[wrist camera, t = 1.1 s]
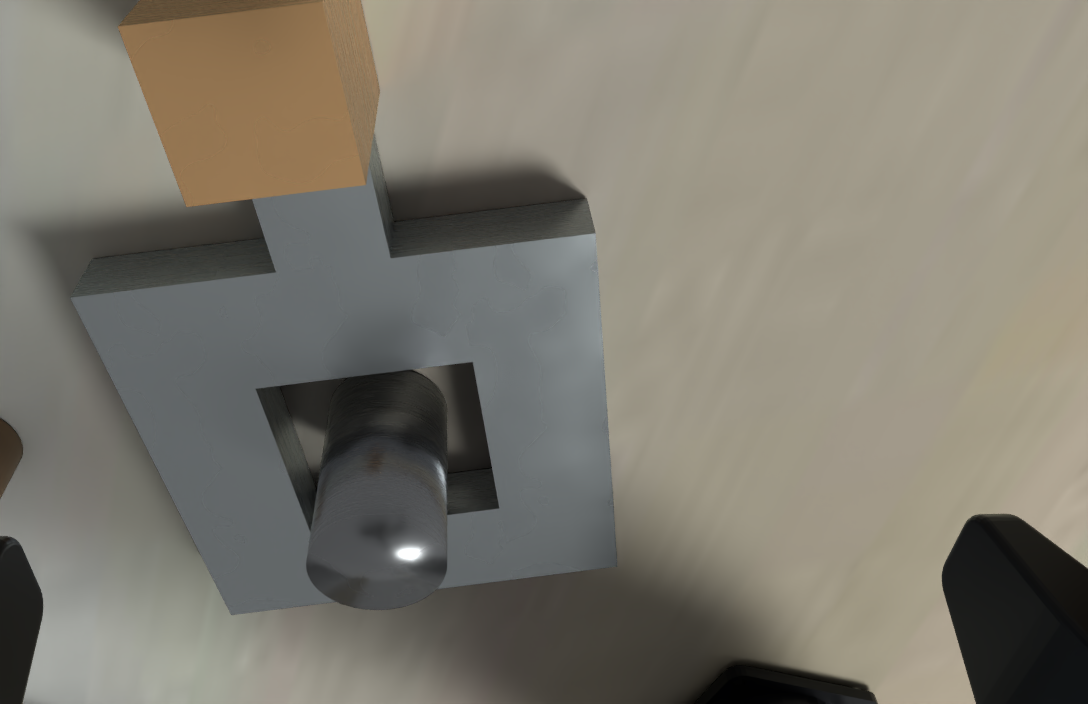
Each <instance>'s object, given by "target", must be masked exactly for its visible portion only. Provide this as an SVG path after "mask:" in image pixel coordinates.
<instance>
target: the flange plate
mask: <svg viewBox="0 0 1088 704" xmlns="http://www.w3.org/2000/svg"><path fill="white" fill-rule="evenodd" d="M118 29H119V31H120V34H121V37H122V39H123V42H124V44H125V47H126V50H127V52H128V55H129V58H130V60H131V63H132V65H133V68H134V71H135V73H136V76H137V79H138V81H139V84H140V86H141V89H142V92H143V94H144V97H145V99H146V102H147V105H148V107H149V110H150V113H151V115H152V118H153V120H154V123H155V126H156V128H157V131H158V134H159V136H160V139H161V141H162V144H163V147H164V149H165V152H166V154H167V157H168V160H169V162H170V165H171V168H172V170H173V173H174V175H175V178H176V181H177V183H178V186H179V189H180V191H181V194H182V196H183V199H184V202H185V204H186V207H191V206H199V205H207V204H215V203H224V202H232V201H240V200H248V199H252V201H253V204H254V207H255V210H256V213H257V216H258V219H259V222H260V225H261V228H262V231H263V234H264V237H265V238H260V239H252V240H244V241H235V242H227V243H219V244H211V245H203V246H195V247H186V248H178V249H170V250H162V251H154V252H146V253H137V254H129V255H121V256H113V257H105V258H97V259H92V260H91V262H90V264H89V266H88V267H87V269H86V271H85V273H84V274H83V276H82V278H81V280H80V281H79V283H78V285H77V287H76V288H75V290H74V292H73V294H72V295H71V297H70V298H71V300H72V302H73V304H74V306H75V308H76V310H77V312H78V314H79V316H80V318H81V320H82V322H83V324H84V326H85V328H86V330H87V332H88V334H89V336H90V338H91V340H92V342H93V344H94V346H95V348H96V350H97V352H98V354H99V356H100V357H101V359H102V361H103V363H104V365H105V367H106V369H107V371H108V373H109V375H110V377H111V379H112V381H113V383H114V385H115V387H116V389H117V391H118V393H119V395H120V397H121V399H122V401H123V403H124V405H125V407H126V409H127V411H128V413H129V415H130V417H131V419H132V420H133V422H134V424H135V426H136V428H137V430H138V432H139V434H140V436H141V438H142V440H143V442H144V444H145V446H146V448H147V450H148V452H149V454H150V456H151V458H152V460H153V462H154V464H155V466H156V468H157V470H158V472H159V474H160V476H161V478H162V480H163V482H164V483H165V485H166V487H167V489H168V491H169V493H170V495H171V497H172V499H173V501H174V503H175V505H176V507H177V509H178V511H179V513H180V515H181V517H182V519H183V521H184V523H185V525H186V527H187V529H188V531H189V533H190V535H191V537H192V539H193V541H194V543H195V545H196V546H197V548H198V550H199V552H200V554H201V556H202V558H203V560H204V562H205V564H206V566H207V568H208V570H209V572H210V574H211V576H212V578H213V580H214V582H215V584H216V586H217V588H218V590H219V592H220V594H221V596H222V598H223V600H224V602H225V604H226V606H227V608H228V609H229V611H230V613H231V615H235V614H243V613H251V612H259V611H267V610H275V609H283V608H291V607H299V606H307V605H315V604H323V603H331V602H336V601H334V600H332V599H330V598H329V597H327V596H325V595H324V594H323V593H321V592H320V591H319V590H318V589H317V588H316V587H315V586H314V585H313V583H312V582H311V580H310V578H309V576H308V573H307V570H306V560H307V553H308V546H309V540H310V533H311V527H312V520H313V514H314V507H315V500H316V494H317V490H316V487H315V484H314V481H313V479H312V476H311V473H310V470H309V467H308V465H307V462H306V459H305V456H304V454H303V451H302V448H301V445H300V442H299V440H298V437H297V434H296V431H295V429H294V426H293V423H292V420H291V417H290V415H289V412H288V409H287V406H286V404H285V401H284V398H283V395H282V392H281V390H280V387H279V386H282V385H290V384H298V383H306V382H314V381H322V380H330V379H338V378H346V377H354V376H362V375H370V374H379V373H387V372H395V371H403V370H411V369H419V368H427V367H435V366H443V365H451V364H459V363H467V362H473V366H474V371H475V377H476V382H477V388H478V393H479V399H480V404H481V410H482V415H483V421H484V426H485V432H486V437H487V443H488V448H489V454H490V459H491V465H492V468H491V469H483V470H475V471H467V472H459V473H451V474H447V572H446V575H445V578H444V580H443V582H442V583H441V584H440V586H439V587H438V588H437V589H442V588H450V587H458V586H466V585H474V584H482V583H490V582H498V581H506V580H514V579H522V578H530V577H538V576H546V575H553V574H561V573H569V572H577V571H585V570H593V569H601V568H609V567H617V553H616V537H615V522H614V507H613V492H612V477H611V461H610V446H609V431H608V416H607V401H606V385H605V370H604V355H603V340H602V325H601V309H600V294H599V279H598V264H597V249H596V233H595V229H594V225H593V221H592V217H591V213H590V209H589V205H588V201H587V198H586V199H578V200H570V201H562V202H554V203H545V204H537V205H529V206H521V207H513V208H505V209H496V210H488V211H480V212H472V213H464V214H456V215H448V216H439V217H431V218H423V219H415V220H407V221H399V222H394V220H393V215H392V211H391V206H390V202H389V197H388V193H387V188H386V184H385V179H384V175H383V171H382V166H381V162H380V157H379V153H378V148H377V144H376V139H375V135H374V127H375V121H376V114H377V107H378V100H379V94H380V89H379V84H378V79H377V75H376V70H375V65H374V60H373V56H372V51H371V46H370V42H369V37H368V32H367V28H366V23H365V18H364V13H363V9H362V4H361V0H140V1H139V2H138V3H137V4H136V5H135V7H134V8H133V9H132V10H131V11H130V13H129V14H128V15H127V16H126V17H125V19H124V20H123V21H122V22H121V23H120V25H119V26H118Z"/></svg>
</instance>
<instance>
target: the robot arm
mask: <svg viewBox="0 0 1088 704" xmlns="http://www.w3.org/2000/svg"><path fill="white" fill-rule="evenodd" d="M942 586H943V591H944V595H945V598H946V602H947V605H948V609H949V612H950V615H951V619H952V622H953V626H954V629H955V633H956V636H957V640H958V643H959V647H960V650H961V653H962V657H963V660H964V664H965V667H966V671H967V674H968V678H969V681H970V684H971V688H972V691H973V695H974V698H975V702H976V704H1088V568H1086V567H1085V566H1084V565H1082V564H1081V563H1080V562H1078V561H1077V560H1076V559H1074V558H1073V557H1072V556H1070V555H1069V554H1068V553H1066V552H1065V551H1064V550H1062V549H1061V548H1060V547H1058V546H1057V545H1056V544H1054V543H1053V542H1052V541H1050V540H1049V539H1048V538H1046V537H1045V536H1044V535H1042V534H1041V533H1040V532H1038V531H1037V530H1036V529H1034V528H1033V527H1032V526H1030V525H1029V524H1028V523H1026V522H1025V521H1024V520H1022V519H1020V518H1019V517H1017V516H1015V515H1011V514H978V515H974V516H972V517H971V518H970V519H968V520H967V522H966V523H965V525H964V527H963V529H962V531H961V533H960V534H959V536H958V538H957V540H956V542H955V544H954V546H953V548H952V550H951V552H950V554H949V556H948V558H947V560H946V562H945V564H944V566H943V571H942ZM42 615H43V597H42V593H41V589H40V587H39V585H38V582H37V580H36V578H35V576H34V573H33V571H32V569H31V567H30V564H29V562H28V560H27V558H26V555H25V553H24V551H23V549H22V547H21V545H20V543H19V542H18V541H17V540H15V539H14V538H12V537H8V536H0V704H22V703H23V699H24V695H25V690H26V686H27V682H28V677H29V673H30V669H31V664H32V660H33V656H34V651H35V647H36V643H37V638H38V634H39V630H40V625H41V621H42ZM694 704H878V703H877V700H876V698H875V695H874V694H873V693H872V692H869V691H865V690H860V689H855V688H850V687H845V686H841V685H836V684H831V683H826V682H821V681H816V680H812V679H807V678H802V677H797V676H792V675H788V674H783V673H778V672H773V671H768V670H764V669H759V668H754V667H749V666H744V665H738V666H733V667H730V668H728V669H727V670H726V671H724V673H723V674H722V675H721V676H720V677H719V678H718V679H717V680H716V681H715V682H714V683H713V684H712V685H711V686H710V687H709V688H708V689H707V690H706V691H705V692H704V694H703V695H702V696H701V697H700V698H699V699H698V700H697V701H696V702H695V703H694Z"/></svg>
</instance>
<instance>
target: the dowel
mask: <svg viewBox="0 0 1088 704" xmlns="http://www.w3.org/2000/svg"><path fill="white" fill-rule="evenodd" d="M22 454H23V446H22V442H21V440H20V438H19V436H18V435H17V433H16V432H15V431H14V430H13V429H12V427H10V426H9V425H8V424H7V423H6V422H4V421H3V420H1V419H0V498H1V497H2V495H3V493H4V491H5V489H6V487H7V485H8V483H9V481H10V479H11V477H12V475H13V473H14V471H15V469H16V468H17V466H18V464H19V462H20V460H21V458H22Z"/></svg>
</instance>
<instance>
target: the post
mask: <svg viewBox="0 0 1088 704" xmlns="http://www.w3.org/2000/svg"><path fill="white" fill-rule="evenodd" d="M306 570H307V573H308V576H309V578H310V580H311V582H312V583H313V585H314V586H315V587H316V588H317V589H318V590H319V591H320V592H321V593H323V594H324V595H325V596H327V597H329V598H330V599H332V600H334V601H336V602H339V603H341V604H344V605H347V606H351V607H355V608H360V609H369V610H385V609H394V608H400V607H404V606H408V605H410V604H413V603H416V602H418V601H420V600H422V599H424V598H426V597H427V596H429V595H430V594H431V593H433V592H434V591H435V590H436V589H437V588H438V587H439V586H440V584H441V583H442V582H443V580H444V578H445V575H446V572H447V404H446V401H445V398H444V396H443V394H442V393H441V391H440V390H439V389H438V388H437V386H436V385H435V384H434V383H432V382H431V381H430V380H429V379H427V378H425V377H424V376H422V375H420V374H418V373H416V372H413V371H410V370H403V371H395V372H387V373H379V374H370V375H362V376H354V377H349V378H348V379H346V380H345V381H344V382H343V383H342V384H341V385H340V386H339V387H338V388H337V389H336V391H335V392H334V394H333V396H332V399H331V402H330V409H329V415H328V422H327V428H326V435H325V441H324V448H323V455H322V461H321V468H320V474H319V481H318V487H317V494H316V500H315V507H314V514H313V520H312V527H311V533H310V540H309V546H308V553H307V560H306Z"/></svg>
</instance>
